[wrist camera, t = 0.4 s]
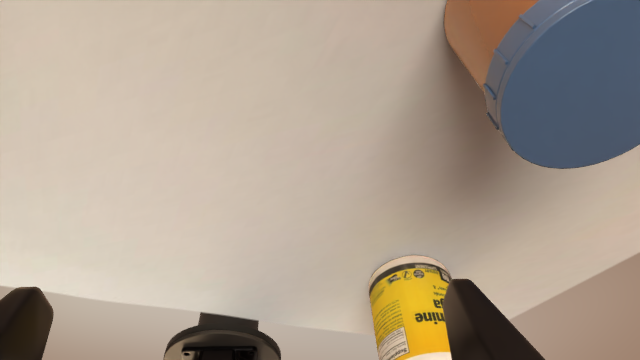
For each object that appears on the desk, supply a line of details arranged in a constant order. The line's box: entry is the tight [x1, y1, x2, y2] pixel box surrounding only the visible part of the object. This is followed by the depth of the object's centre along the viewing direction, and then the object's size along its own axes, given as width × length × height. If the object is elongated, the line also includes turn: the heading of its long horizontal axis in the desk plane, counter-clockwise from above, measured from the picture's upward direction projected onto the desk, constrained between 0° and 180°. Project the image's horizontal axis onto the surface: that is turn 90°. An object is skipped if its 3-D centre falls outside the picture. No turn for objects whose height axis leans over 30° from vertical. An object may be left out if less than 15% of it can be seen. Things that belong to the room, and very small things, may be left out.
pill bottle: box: [369, 255, 452, 360], centre depth 28 cm, size 6×6×11 cm
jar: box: [444, 0, 539, 93], centre depth 17 cm, size 6×6×8 cm
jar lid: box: [483, 0, 640, 169], centre depth 14 cm, size 6×6×2 cm
